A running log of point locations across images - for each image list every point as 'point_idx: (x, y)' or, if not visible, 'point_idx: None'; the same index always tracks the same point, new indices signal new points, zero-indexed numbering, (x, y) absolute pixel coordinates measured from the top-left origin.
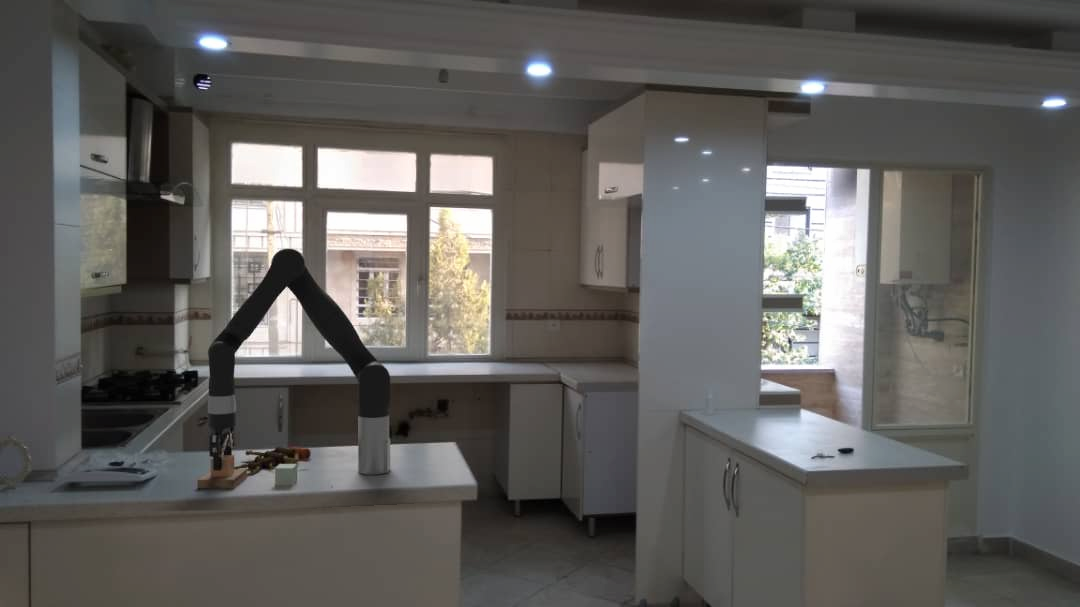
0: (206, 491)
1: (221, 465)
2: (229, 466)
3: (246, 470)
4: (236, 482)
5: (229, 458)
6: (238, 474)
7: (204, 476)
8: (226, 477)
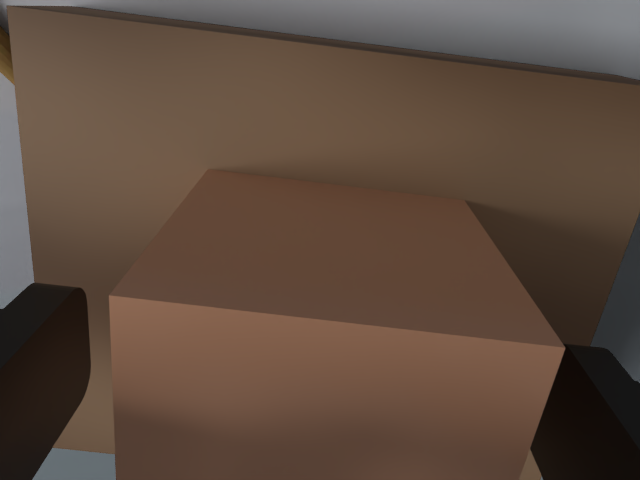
0: (635, 338)
1: (625, 387)
2: (453, 253)
3: (35, 8)
4: (527, 66)
5: (485, 339)
6: (359, 79)
7: None
8: (508, 220)
